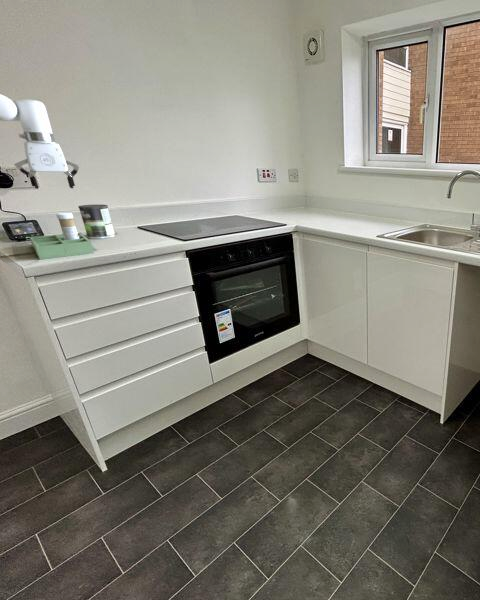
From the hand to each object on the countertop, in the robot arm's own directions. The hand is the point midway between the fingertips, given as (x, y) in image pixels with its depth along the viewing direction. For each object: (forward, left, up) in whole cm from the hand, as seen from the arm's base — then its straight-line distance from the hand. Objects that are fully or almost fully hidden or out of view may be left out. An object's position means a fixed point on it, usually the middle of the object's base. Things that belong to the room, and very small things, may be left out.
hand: (54, 188), depth 132 cm
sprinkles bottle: (0, 0, -23) cm, 23 cm away
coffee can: (+13, +23, -24) cm, 35 cm away
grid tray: (-3, 0, -24) cm, 24 cm away
